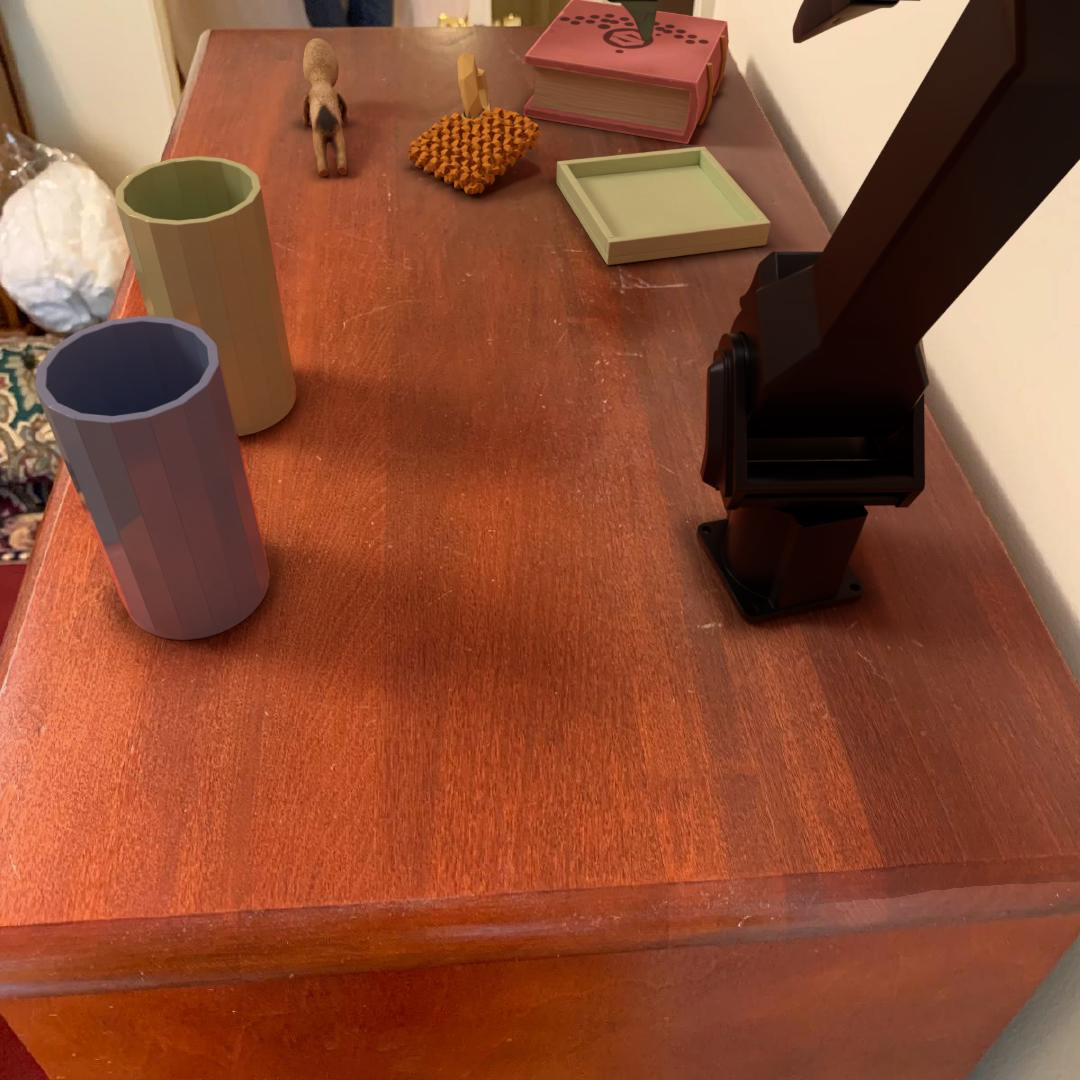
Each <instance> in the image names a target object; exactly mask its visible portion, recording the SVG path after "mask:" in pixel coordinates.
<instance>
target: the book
mask: <svg viewBox="0 0 1080 1080" xmlns="http://www.w3.org/2000/svg"><path fill="white" fill-rule="evenodd" d="M729 44H730V38H729V27H728V21H727V20H721V19H715V18H707V17H701V16H694V15H687V14H679V13H674V12H667V11H660V10H657V12H656V18H655V24H654V30H653V34H652V36H651V37H650V39H649V40H648V41H642V39H641V36H640V33H639V31H638V28H637V25H636V23H635V20H634V18H633V17H632V16H631V14H630V13H629V12H628V11H627V9H626V8H625V7H624V6H623V5H621V4H620V5H619V4H614V3H606V2H598V1H592V0H569V2H568V3H567V4H566V5H565V7H563V9H561V11H560V12H559V14H557V16H556V17H555V18H554V20H552V22H551V23H550V25H548V27H547V28H546V29H545V31H544V32H543V33H542V34H541V35H540V36H539V37H538V39H537V40H536V41H535V43H534V44H532V46H531V47H530V48H529V49H528V51H527V52H526V53H525V54H524V65H525V66H531V67H532V69H533V74H534V83H533V85H534V86H533V89H534V90H533V94H532V96H531V97H530V98H529V100H528V101H527V103H525V105H524V106H523V108H522V109H523V110H522V111H523V113H522V117H525V116H526V117H528V118H531V119H538V120H543V121H544V120H545V121H549V122H550V121H551V122H556V123H563V124H567V125H574V126H579V127H585V128H591V129H597V130H602V131H603V130H604V131H610V132H614V133H621V134H627V135H632V136H639V137H643V138H651V139H655V140H660V141H661V140H662V141H667V142H674V143H680V144H686V145H689V142H690V140H691V139H692V136H693V134H694V132H695V130H696V127H697V125H698V126H702V125H703V124H704V121H705V119H706V118H707V115H708V112H709V111H710V108H711V105H712V101H713V97H715V96H716V95H717V94H718V91H719V88H720V87H721V84H722V81H723V79H724V77H725V71H726V65H727V59H728V55H727V54H728V49H729Z"/></svg>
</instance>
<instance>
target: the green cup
mask: <svg viewBox="0 0 1080 1080" xmlns="http://www.w3.org/2000/svg"><path fill="white" fill-rule="evenodd" d="M115 205H116V208H117V212H118V216H119V220H120V222H121V227H122V230H123V233H124V238H125V241H126V244H127V248H128V251H129V254H130V257H131V262H132V265H133V268H134V271H135V275H136V278H137V282H138V285H139V289H140V293H141V295H142V300H143V303H144V307H145V310H146V313H147V316H153V317H164V318H174V319H178V320H181V321H183V322H186V323H188V324H191V325H194V326H196V327H199V328H201V329H202V330H203V331H204V332H205V333H206V334H207V335H208V336H209V337H210V338H211V339H212V340H213V341H214V342H215V343H216V344H217V347H218V351H219V356H220V360H221V364H222V368H223V373H224V377H225V381H226V385H227V390H228V394H229V398H230V402H231V407H232V411H233V415H234V419H235V424H236V428H237V432H238V436H239V437H243V436H247V435H253V434H256V433H259V432H261V431H265V430H267V429H268V428H271V427H273V426H274V425H276V424H278V423H279V422H281V420H283V419H284V418H285V417H286V416H287V415H288V414H289V413H290V412H291V410H292V409H293V407H294V405H295V402H296V399H297V387H296V382H295V375H294V369H293V365H292V358H291V353H290V347H289V341H288V336H287V335H288V334H287V329H286V324H285V318H284V313H283V307H282V300H281V296H280V289H279V284H278V279H277V272H276V266H275V260H274V254H273V249H272V242H271V238H270V233H269V232H270V231H269V227H268V220H267V214H266V209H265V203H264V197H263V191H262V186H261V181H260V177H259V175H258V174H257V173H256V172H254V171H253V170H252V169H251V168H249V166H248V165H245V164H243V163H240V162H237V161H235V160H231V159H228V158H223V157H212V156H203V155H199V156H198V155H196V156H187V157H186V156H185V157H175V158H170V159H166V160H162V161H158V162H155V163H151V164H148V165H144V166H143V167H141V168H139V169H137V170H135V171H134V172H131V173H130V174H129V175H127V176H125V177H124V179H123V180H122V181H121V182H120V183H119V185H118V186H117V187H116V189H115Z"/></svg>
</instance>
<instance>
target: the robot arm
mask: <svg viewBox="0 0 1080 1080" xmlns="http://www.w3.org/2000/svg"><path fill="white" fill-rule="evenodd" d="M606 1H608V2H609V3H611V4H620V5H622V6H624V7H625V8H626V9H627V11H628V12H629V13H630V14H631V16H632V17H633V18H634V20H635V23H636V25H637V28H638V31H639V33H640V36H641V39H642V41H648V40H649V39H650V37H651V36H652V34H653V30H654V24H655V18H656V12H657V11H658V6H659V0H606ZM900 1H903V2H904V1H905V2H906V1H908V2H920V1H921V0H802V3H801V4H800V6H799V9H798V12H797V15H796V17H795V18H794V19H795V20H794V22H793V25H792V30H791V31H792V42H793V44H802V43H804V42H805V41H808V40H810V39H812V38H814V37H816V36H818V35H821V34H823V33H824V32H826V31H829V30H831V29H833V28H835V27H837V26H840V25H842V24H844V23H847V22H850V21H852V20H854V19H857V18H859V17H862V16H865V15H867V14H869V13H872V12H874V11H877V10H880V9H892V8H895V7H896V6H897V5H898V4H899V3H900ZM1078 162H1080V0H969V1H968V2H967V4H966V6H965V8H964V9H963V11H962V13H961V14H960V16H959V18H958V19H957V21H956V23H955V25H954V26H953V28H952V29H951V31H950V33H949V35H948V37H947V38H946V40H945V42H944V43H943V44H942V47H941V48H940V50H939V52H938V53H937V55H936V57H935V59H934V60H933V62H932V64H931V65H930V67H929V68H928V71H927V72H926V74H925V75H924V77H923V79H922V81H921V82H920V84H919V86H918V88H917V90H916V91H915V93H914V95H913V96H912V98H911V99H910V102H909V103H908V105H907V107H906V108H905V110H904V112H903V114H902V115H901V116H900V118H899V120H898V122H897V123H896V125H895V127H894V128H893V130H892V132H891V134H890V135H889V137H888V139H887V140H886V142H885V144H884V146H883V147H882V149H881V150H880V153H879V154H878V156H877V158H876V159H875V161H874V162H873V165H872V166H871V168H870V170H869V171H868V173H867V175H866V176H865V178H864V180H863V182H862V183H861V185H860V187H859V188H858V190H857V192H856V193H855V195H854V196H853V199H852V200H851V202H850V204H849V206H848V207H847V209H846V211H845V213H844V214H843V216H842V218H841V219H840V221H839V223H838V225H837V226H836V228H835V230H834V231H833V233H832V235H831V236H830V238H829V240H828V242H827V243H826V244H825V246H824V248H823V250H822V251H809V250H808V251H806V250H805V251H800V250H799V251H798V250H797V251H793V250H792V251H790V250H789V251H787V250H786V251H785V250H783V251H782V250H781V251H780V250H779V251H778V250H777V251H775V250H774V251H773V250H772V251H771V252H770V253H768V255H766V256H765V257H764V258H763V259H762V260H761V261H759V263H758V264H757V267H756V270H755V272H754V275H753V278H752V281H751V284H750V285H749V287H748V289H747V291H746V293H744V294H743V295H741V296H740V297H739V306H740V311H739V312H738V313H737V315H736V316H735V318H734V320H733V322H732V325H731V328H730V331H729V333H728V332H727V333H726V332H725V333H723V334H722V335H721V337H720V339H719V342H718V345H717V348H716V349H715V350H714V351H713V354H712V355H713V356H712V357H713V358H712V362H711V363H710V364H709V366H708V367H707V370H706V396H705V397H706V398H705V439H704V451H703V455H702V460H701V465H700V469H699V470H700V471H699V474H700V478H701V482H703V483H705V484H706V485H708V486H710V487H712V488H713V489H714V490H715V491H716V492H717V491H718V492H719V493H720V496H721V500H722V503H723V508H724V510H725V512H726V517H725V518H723V519H717V520H713V521H707V522H703V523H702V522H701V523H700V524H699V525H698V526H697V528H696V534H695V535H696V538H697V539H698V542H699V543H700V545H701V547H702V549H703V550H704V552H705V554H706V556H707V558H708V560H709V561H710V564H711V565H712V567H713V569H714V570H715V572H716V574H717V577H718V578H719V580H720V581H721V583H722V585H723V587H724V589H725V590H726V592H727V594H728V597H729V598H730V600H731V601H732V603H733V605H734V607H735V609H736V610H737V612H738V614H739V616H740V618H741V619H742V620H743V621H744V622H746V623H749V624H756V623H761V622H765V621H769V620H773V619H779V618H783V617H788V616H793V615H797V614H802V613H807V612H810V611H815V610H820V609H825V608H829V607H833V606H839V605H843V604H847V603H852V602H856V601H859V600H861V599H862V598H863V596H864V594H865V590H866V589H865V586H864V584H863V582H862V581H861V580H860V578H859V577H858V576H857V574H856V572H855V571H854V569H853V568H852V566H851V565H850V562H851V560H852V557H853V555H854V552H855V549H856V546H857V544H858V541H859V539H860V537H861V533H862V531H863V528H864V526H865V523H866V520H867V517H868V515H869V511H868V510H867V508H866V507H881V506H882V507H887V506H890V507H891V506H893V507H895V509H896V508H897V509H899V508H901V509H902V508H904V509H905V508H909V507H910V506H911V505H912V504H913V503H914V502H915V500H916V499H917V498H918V497H919V496H920V495H921V493H923V492H924V490H925V486H926V443H925V442H926V441H925V440H926V438H925V437H926V435H925V434H926V433H925V430H926V429H925V427H926V426H925V424H926V423H925V392H926V391H927V389H928V387H929V386H930V379H929V372H928V366H927V359H926V353H925V348H924V340H923V339H924V337H925V336H926V334H927V333H928V332H929V331H930V330H931V329H932V327H933V326H934V325H935V324H936V323H937V322H938V321H939V320H940V319H941V317H942V316H943V315H944V314H945V313H946V312H947V310H949V308H950V307H951V306H952V305H953V304H954V303H955V302H956V301H957V300H958V298H959V297H960V296H961V295H962V294H963V292H964V291H965V290H966V289H967V288H968V287H969V286H970V285H971V283H972V282H973V281H974V280H975V279H976V278H977V277H978V275H980V273H982V271H983V270H984V269H985V267H987V265H988V264H989V263H990V262H991V261H992V260H993V258H994V257H995V256H997V254H998V253H999V252H1000V251H1001V249H1002V248H1004V246H1005V245H1006V244H1007V243H1008V242H1009V241H1010V240H1011V238H1012V237H1013V236H1014V235H1015V234H1016V233H1017V231H1018V230H1019V229H1020V228H1021V227H1022V226H1023V225H1024V223H1025V222H1027V220H1028V219H1029V218H1030V217H1031V215H1033V213H1034V212H1035V211H1036V210H1037V209H1038V208H1039V207H1040V205H1041V204H1042V203H1043V202H1044V201H1045V200H1046V199H1047V197H1049V196H1050V194H1051V193H1052V192H1053V191H1054V190H1055V189H1056V187H1058V185H1059V184H1060V183H1061V182H1062V181H1063V179H1064V178H1066V176H1067V175H1068V174H1069V173H1070V172H1071V170H1072V169H1074V167H1075V166H1076V165H1077V163H1078ZM751 612H753V613H751Z"/></svg>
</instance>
